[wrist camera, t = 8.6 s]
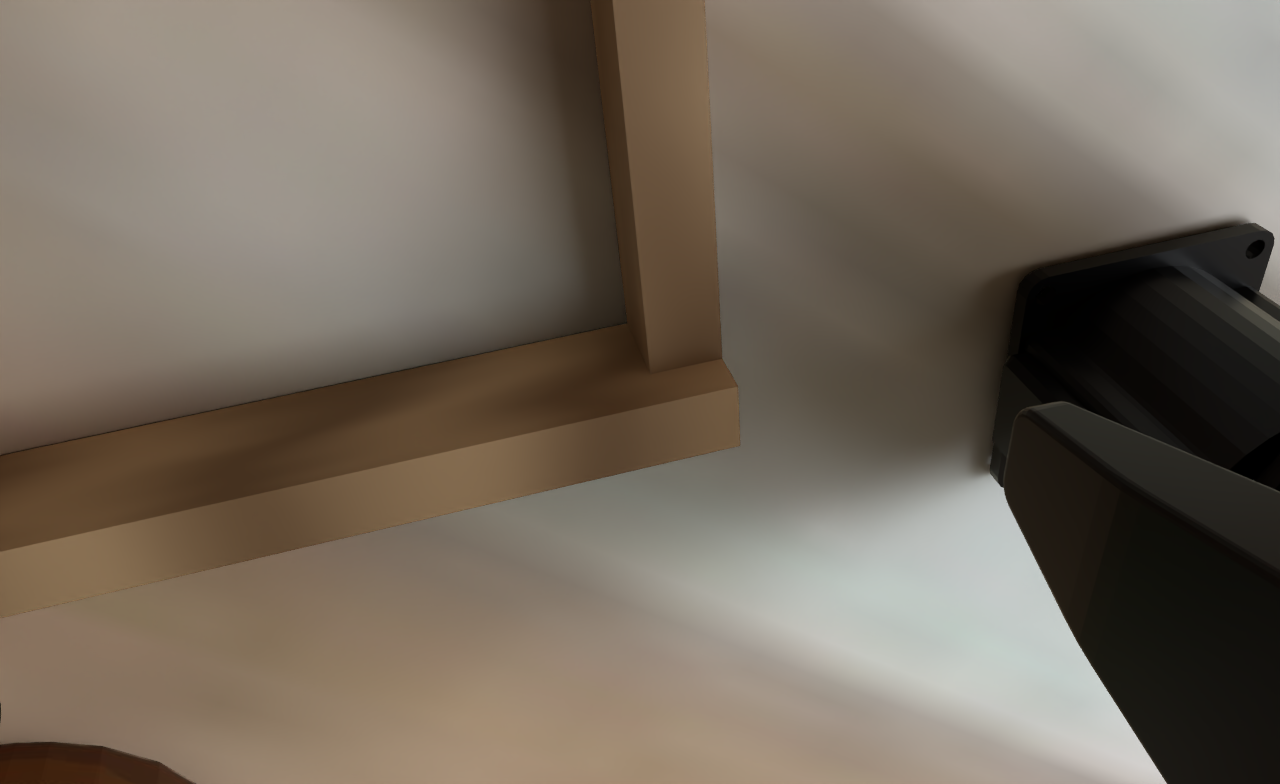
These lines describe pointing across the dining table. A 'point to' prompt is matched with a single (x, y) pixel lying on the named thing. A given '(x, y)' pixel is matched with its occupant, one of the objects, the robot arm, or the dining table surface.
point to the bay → (426, 389)
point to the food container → (79, 766)
